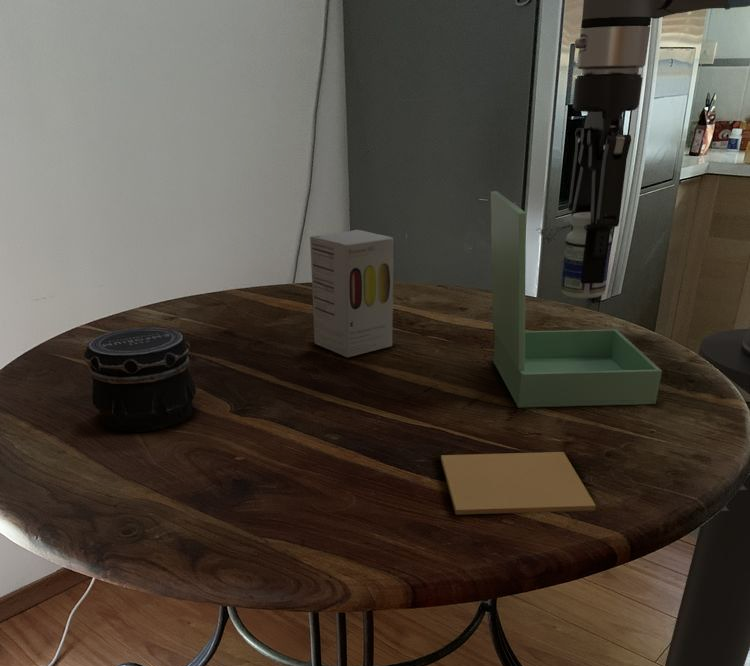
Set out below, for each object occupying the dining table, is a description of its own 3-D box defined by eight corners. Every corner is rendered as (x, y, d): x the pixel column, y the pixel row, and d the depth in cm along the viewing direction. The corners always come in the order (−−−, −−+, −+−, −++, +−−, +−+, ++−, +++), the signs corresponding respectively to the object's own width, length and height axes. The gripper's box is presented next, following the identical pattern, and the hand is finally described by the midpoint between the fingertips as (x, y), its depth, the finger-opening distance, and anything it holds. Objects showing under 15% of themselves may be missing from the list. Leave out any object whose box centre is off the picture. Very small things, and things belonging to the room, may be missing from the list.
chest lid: (496, 190, 99) (490, 191, 99) (526, 212, 83) (519, 213, 83) (498, 328, 108) (492, 329, 108) (524, 370, 93) (518, 371, 93)
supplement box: (347, 359, 112) (343, 244, 104) (312, 344, 119) (306, 235, 110) (394, 346, 118) (395, 236, 109) (359, 332, 124) (357, 227, 115)
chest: (611, 358, 112) (616, 329, 109) (655, 404, 96) (662, 370, 94) (493, 361, 111) (495, 331, 109) (518, 407, 96) (521, 374, 93)
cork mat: (563, 456, 83) (563, 451, 83) (595, 510, 73) (595, 505, 73) (440, 459, 83) (440, 455, 83) (455, 515, 73) (455, 509, 72)
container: (153, 389, 102) (141, 318, 97) (219, 409, 96) (210, 334, 91) (75, 420, 93) (57, 344, 88) (143, 444, 87) (128, 364, 82)
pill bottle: (599, 287, 100) (609, 209, 95) (609, 299, 95) (620, 217, 90) (556, 288, 100) (564, 210, 95) (564, 299, 95) (573, 218, 90)
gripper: (556, 72, 93) (539, 261, 104) (602, 72, 76) (576, 296, 88) (614, 71, 93) (591, 259, 104) (673, 71, 77) (638, 294, 88)
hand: (584, 276), depth 96 cm, fingers closed on pill bottle, 6 cm apart
